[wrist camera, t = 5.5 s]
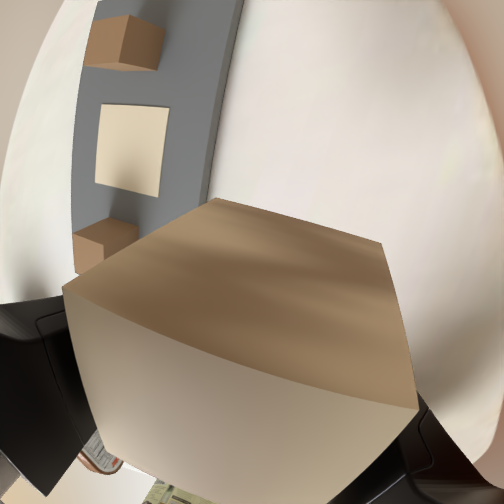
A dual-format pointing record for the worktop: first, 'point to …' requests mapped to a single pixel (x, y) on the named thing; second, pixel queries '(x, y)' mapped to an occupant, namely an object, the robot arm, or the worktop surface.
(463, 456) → the robot arm
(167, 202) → the board
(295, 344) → the maple block
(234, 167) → the worktop surface
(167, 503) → the coffee can
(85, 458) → the tin
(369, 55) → the worktop surface
